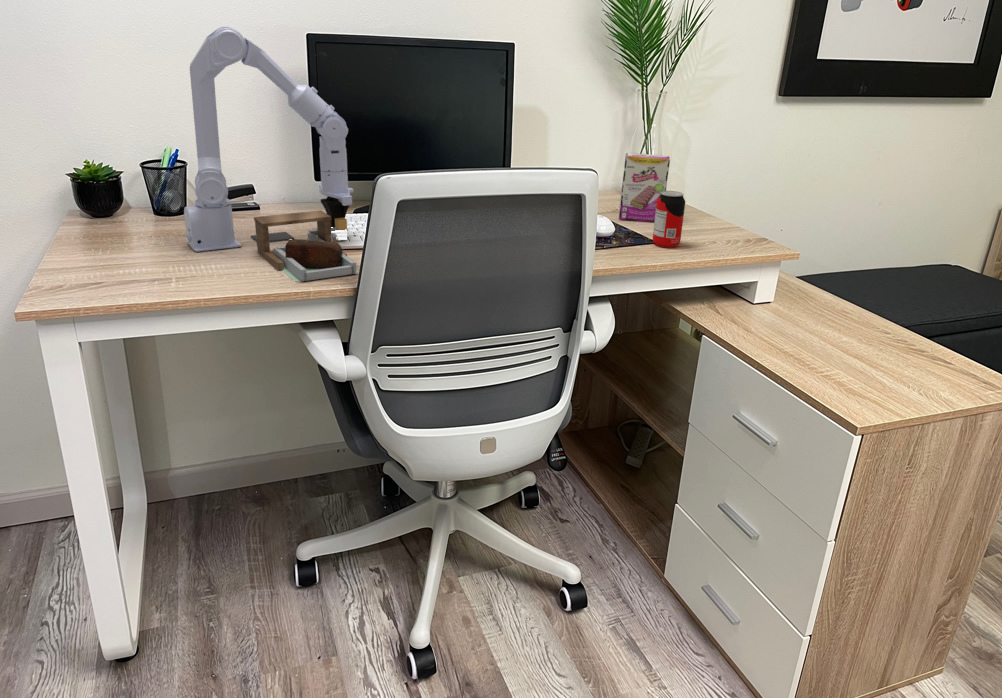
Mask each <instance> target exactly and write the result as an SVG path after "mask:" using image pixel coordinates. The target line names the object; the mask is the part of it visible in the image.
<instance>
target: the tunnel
mask: <svg viewBox="0 0 1002 698" xmlns="http://www.w3.org/2000/svg"><path fill="white" fill-rule="evenodd" d="M330 220H331V216H329V215H328V214H327V213H326V212H324V211H322V210H311V211H303V212H292V213H283V214H282V213H281V214H273V215H262V216H255V217H253V221H254V226H255V227H254V228H255V235H256V239H257V242H256V248H257V249H256V250H257V254H258V255H260V257H261V258H263V259H264V260H265V261H266V262H267V263H269V264H270V265H271V266H272V267H273V268H274V269H275V270H277V272H278V271H282V270H284V262H282V261H281V260H280V259H279V258H278V257H276V256H275V253H273V252H271V246H270V245H271V244H270V243H271V242H269V234H270V232H269V227H276V226H277V227H278V226H287V225H296V224H305V223H313V222H315V223H316V229H317V231H318V235H317V236H318V237H319V238H321V239H322V240H324V241H327V242H333V241H332V234H331V221H330ZM342 252H343V254H344V255H346V256H347V257H348V254H347V252H345V251H343V250H342Z"/></svg>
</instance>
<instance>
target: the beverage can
mask: <svg viewBox="0 0 1002 698" xmlns="http://www.w3.org/2000/svg"><path fill="white" fill-rule="evenodd" d="M685 209H686V200H685V197H684V193H683V192H681V191H675V190H666V191H662V192H661V194H660V196H659V197H658V199H657V204H656V213H655V222H653V223H654V224H653V231H652V241H653V243H654V244H655V245H656V246H657V247H660V248H668V249H669V248H670V249H671V248H676V247H677V246H678V245H679V244H680V243H681V240H682V231H683V225H684V224H683V223H684V216H685Z"/></svg>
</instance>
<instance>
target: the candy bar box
mask: <svg viewBox="0 0 1002 698" xmlns="http://www.w3.org/2000/svg"><path fill="white" fill-rule="evenodd" d="M670 161H671V159H670V155H662V154H660V155H659V154H647V153H646V154H645V153H636V152H634V153H633V152H626V153H625V155H624V164H623V166H624V167H623V174H622V183H621V193H620V202H619V211H618V212H619V213H618V217H619V218H618V220H619V221H633V222H647V223H654V222H655V213H656V204H657V199H658V197H659V196H660V194H661V192H662V191H667V187H668V177H669V171H670V170H669V169H670Z"/></svg>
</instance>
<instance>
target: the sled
mask: <svg viewBox="0 0 1002 698" xmlns="http://www.w3.org/2000/svg"><path fill="white" fill-rule="evenodd" d="M345 229H347V230H348V220H347V219H346V217H345V218H335V227H333V228H331V231H335V230H345ZM307 240H310V241H324V240H322V239H321V238H319V237H318V231H317V228H315V229H309V230H308V233H307ZM273 250H274V255H275V256H276V257H278V258H279V259H280V260H281V261H282V262H284V267H285V268H287V269H288V270H289V271H290V272H291V273H292V274H294V275H295V276H296V277H297V278H298V279H300V280H301V281H300V282H307V281H313V280H314V281H315V280H319V279H327V278H335V277H342V276H349V275H355V274H358V273H357V271H358V269H357V262H356V261H355V260H354V259H352V258H350V257H348V255H347V256H346V255H344V254H342V256H341V264H340V266H341V267H334V268H327V269H320V270H313V271H306V269H305V268H304V267H302V266H301V265H300V264H299V263H297V262H296V261H295V260H294V259H292V258H286V248H285V245H280V246H276V247H275V248H273Z"/></svg>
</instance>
